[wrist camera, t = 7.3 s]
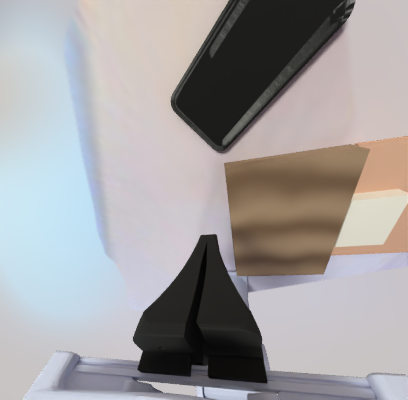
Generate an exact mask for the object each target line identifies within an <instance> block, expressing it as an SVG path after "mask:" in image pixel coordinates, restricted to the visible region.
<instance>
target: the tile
mask: <svg viewBox="0 0 408 400" xmlns="http://www.w3.org/2000/svg"><path fill="white" fill-rule="evenodd" d="M407 203H408V193H407V192H405V191H403V190H400V189H393V190H384V191H374V192H365V193H356V194H353V197H352V200H351V202H350V205H349V208H348V210H347V213H346V216H345V218H344V221H343V224H342V227H341V229H340V232H339V235H338V237H337V240H336V243H335V245H334V247H347V246H365V245H382V244H384V242H385V241H386V239H387V237H388V236H389V234H390V232H391V231H392V229H393V227H394V225H395V224H396V222H397V220H398V219H399V217H400V215H401V214H402V212H403V210H404V209H405V207H406V205H407Z"/></svg>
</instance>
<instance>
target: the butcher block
mask: <svg viewBox="0 0 408 400" xmlns="http://www.w3.org/2000/svg"><path fill="white" fill-rule="evenodd" d="M369 152H370V149H367V148H363V147H359V146H355V145H351V144H350V145H343V146H337V147H330V148H323V149H317V150H310V151H303V152H296V153H290V154H283V155H276V156H269V157H263V158H256V159H249V160H242V161H236V162H229V163H224V165H225V174H226V183H227V192H228V201H229V210H230V220H231V229H232V238H233V247H234V256H235V265H236V274H237V276H272V275H312V274H324V272H325V269H326V267H327V264H328V261H329V259H330V256H331V253H332V251H333V248H334V245H335V243H336V240H337V237H338V235H339V232H340V229H341V227H342V224H343V221H344V218H345V216H346V213H347V210H348V208H349V205H350V202H351V200H352V197H353V194H354V192H355V189H356V186H357V184H358V181H359V178H360V176H361V173H362V170H363V168H364V165H365V162H366V160H367V157H368V154H369Z"/></svg>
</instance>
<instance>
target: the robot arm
mask: <svg viewBox="0 0 408 400" xmlns="http://www.w3.org/2000/svg"><path fill="white" fill-rule="evenodd" d="M133 341H134V343H135V344H136V345H137V346H138V347H139V348H140V349H141V350H143V353H142V356H141V359H140V361H131V360H118V359H103V358H91V357H80V356H79V355H78V354H76V353H73V352H66V351H56V352H54V354H53V355H52V357H51V358H50V360H49V361H48V363H47V364H46V366H45V367H44V369H43V370H42V372H41V373H40V375H39V376H38V377H37V379H36V380H35V382H34V383H33V385H32V386H31V388H30V389H29V391H28V392H27V393H26V395H25V396H24V398H23V399H22V400H408V376H406V375H405V374H390V373H371V374H369V375H367V377H366V378H362V377H349V376H335V375H321V374H308V373H295V372H294V373H293V372H281V371H280V372H279V371H270V367H269V362H268V357H267V353H266V350H265V346H264V345H263V344H262V336H261V333H260V330H259V328H258V326H257V324H256V322H255V319H254V317H253V315H252V313H251V311H250V310H249V304H248V287H247V276H237V274H236V272H227V269H226V267H225V265H224V262H223V260H222V257H221V254H220V251H219V245H218V240H217V235H216V234H212V235H201V236H200V238H199V241H198V243H197V245H196V247H195V249H194V251H193V253H192V254H191V256H190V258H189V260H188V261H187V263H186V264H185V266H184V267H183V269H182V270H181V272H180V273H179V274H178V276H177V277H176V278H175V280H174V281H173V282H172V283H171V284H170V286H169V287H168V288H167V289H166V290H165V291H164V292H163V293H162V294H161V296H160V297H159V298H158V299H157V300H156V301H155V302H154V303H152V304H151V305H150V306H149V307H148V308H147V309H146V310H145V311H144V312H143V315H142V317H141V319H140V321H139V323H138V326H137V328H136V331H135V334H134V337H133ZM137 380H139V381H149V382H160V383H170V384H180V385H192V386H196V391H197V396H188V395H180V394H170V393H163V392H162V391H159V390H157V389H155V388H154V387H152V385H151V384H147V383H143V382H138V381H137ZM277 394H278V395H277Z"/></svg>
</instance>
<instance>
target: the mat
mask: <svg viewBox="0 0 408 400" xmlns="http://www.w3.org/2000/svg"><path fill="white" fill-rule="evenodd" d="M355 146H359V147H363V148H367V149H370V152H369V154H368V157H367V160H366V162H365V165H364V168H363V170H362V173H361V176H360V178H359V181H358V184H357V186H356V189H355V192H354V194H356V193H365V192H374V191H384V190H393V189H400V190H403V191H405V192H407V193H408V136H404V137H397V138H391V139H384V140H377V141H370V142H364V143H357V144H355ZM397 252H408V203H407V205H406V207H405V209H404V210H403V212H402V214H401V215H400V217H399V219H398V220H397V222H396V224H395V225H394V227H393V229H392V231H391V232H390V234H389V236H388V237H387V239H386V241H385V242H384V244H382V245H365V246H347V247H334V248H333V251H332V253H331V255H351V254H374V253H397Z"/></svg>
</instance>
